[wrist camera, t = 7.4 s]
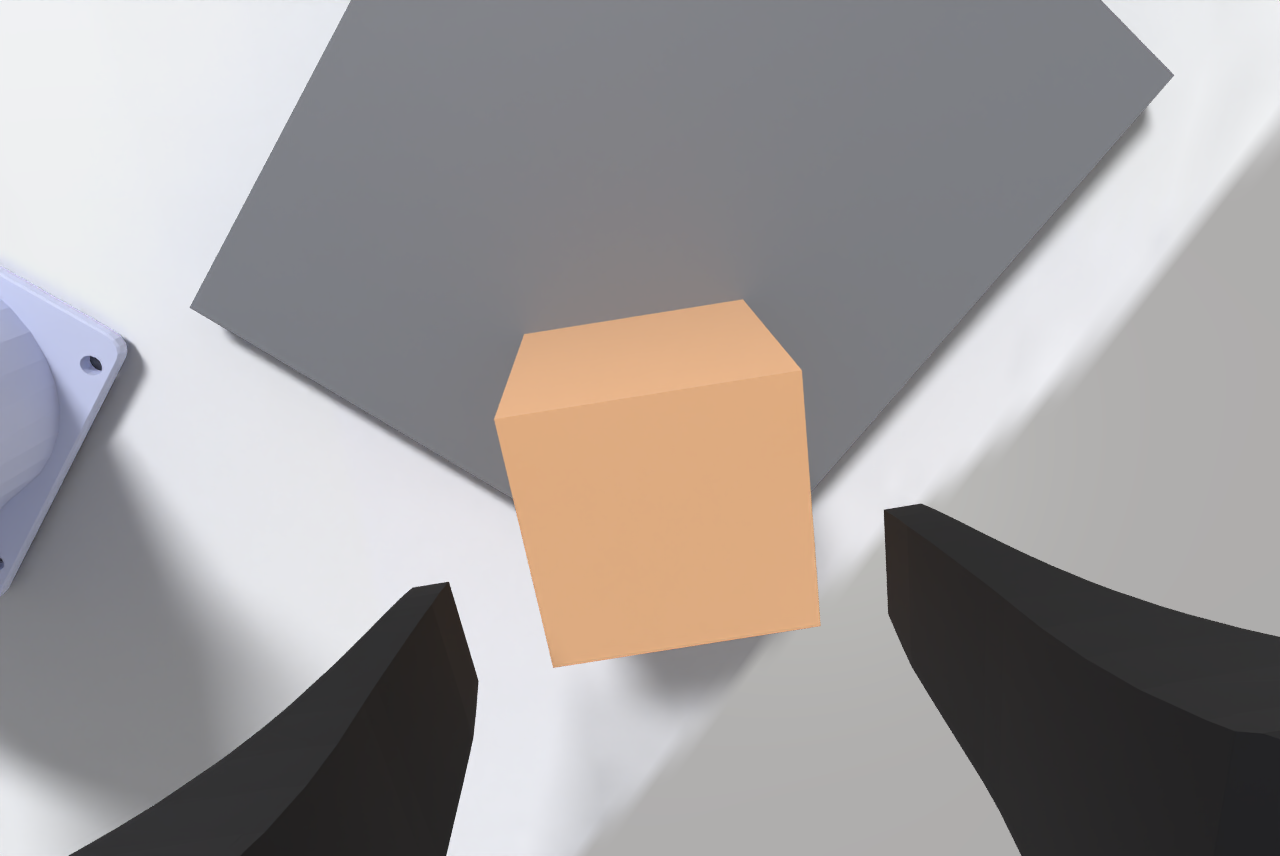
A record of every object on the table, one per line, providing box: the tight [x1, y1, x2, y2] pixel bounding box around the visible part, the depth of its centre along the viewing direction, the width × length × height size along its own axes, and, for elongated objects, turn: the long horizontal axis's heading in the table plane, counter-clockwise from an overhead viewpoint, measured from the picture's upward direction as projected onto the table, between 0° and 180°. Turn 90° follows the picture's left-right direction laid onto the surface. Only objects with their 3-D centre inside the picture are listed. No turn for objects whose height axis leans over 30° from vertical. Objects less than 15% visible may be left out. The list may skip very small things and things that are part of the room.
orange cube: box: [494, 299, 820, 668], centre depth 18 cm, size 6×6×6 cm
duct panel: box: [190, 0, 1174, 499], centre depth 17 cm, size 18×16×5 cm
